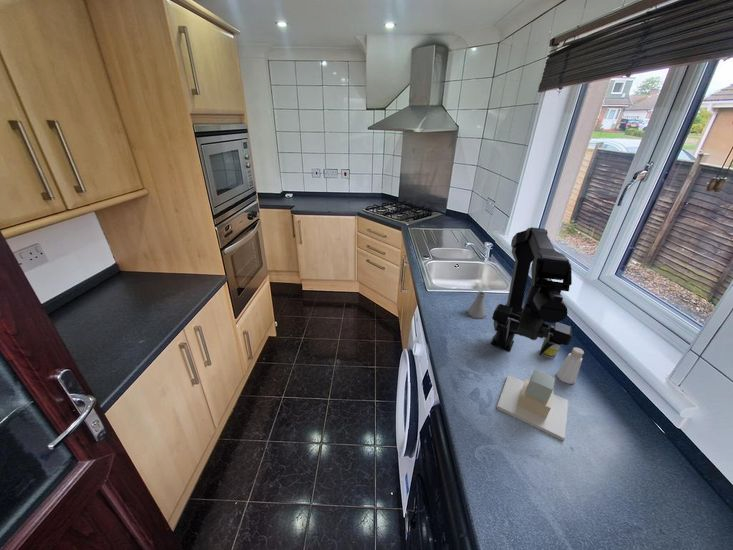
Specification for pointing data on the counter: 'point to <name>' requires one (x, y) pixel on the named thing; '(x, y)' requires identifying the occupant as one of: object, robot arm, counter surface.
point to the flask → (478, 306)
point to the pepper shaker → (571, 366)
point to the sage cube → (540, 386)
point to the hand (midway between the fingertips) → (522, 347)
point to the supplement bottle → (551, 350)
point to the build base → (529, 417)
